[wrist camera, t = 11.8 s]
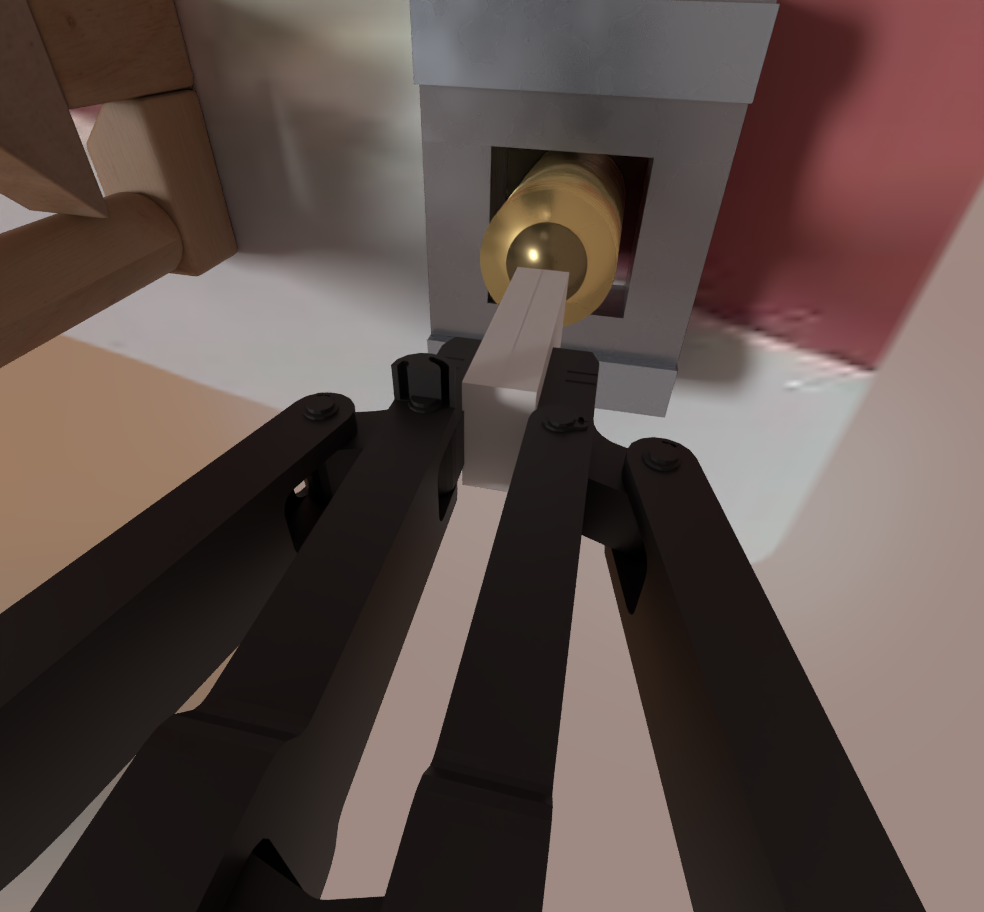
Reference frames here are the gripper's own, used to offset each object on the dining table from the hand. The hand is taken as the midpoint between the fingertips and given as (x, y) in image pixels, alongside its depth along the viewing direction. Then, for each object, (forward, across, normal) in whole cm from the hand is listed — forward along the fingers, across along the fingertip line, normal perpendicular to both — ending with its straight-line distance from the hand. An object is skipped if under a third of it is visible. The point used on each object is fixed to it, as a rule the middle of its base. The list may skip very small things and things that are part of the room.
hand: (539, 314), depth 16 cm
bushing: (+10, 0, +1) cm, 10 cm away
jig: (+10, 0, 0) cm, 10 cm away
